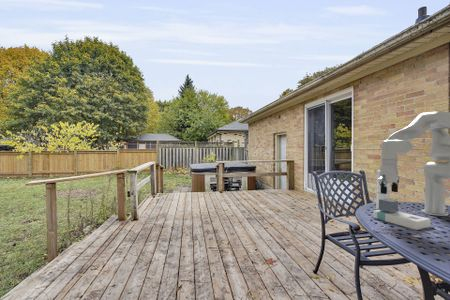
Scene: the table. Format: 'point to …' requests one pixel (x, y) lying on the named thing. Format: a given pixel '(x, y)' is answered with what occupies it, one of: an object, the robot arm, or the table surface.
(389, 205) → the grey rectangular block
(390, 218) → the docking board
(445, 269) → the table surface
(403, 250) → the table surface
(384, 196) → the cylindrical container
